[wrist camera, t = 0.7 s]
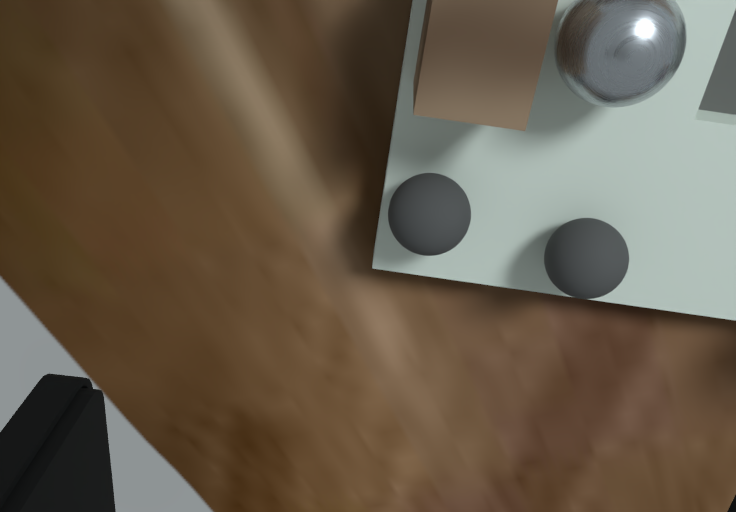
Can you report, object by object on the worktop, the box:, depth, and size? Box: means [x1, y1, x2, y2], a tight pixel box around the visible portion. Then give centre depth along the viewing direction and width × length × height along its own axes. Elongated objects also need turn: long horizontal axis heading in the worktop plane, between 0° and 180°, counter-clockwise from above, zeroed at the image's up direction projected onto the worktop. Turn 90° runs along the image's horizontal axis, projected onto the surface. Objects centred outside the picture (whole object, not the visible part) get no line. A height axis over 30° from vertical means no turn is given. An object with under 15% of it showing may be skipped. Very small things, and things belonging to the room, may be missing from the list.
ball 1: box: [388, 173, 471, 256], centre depth 29 cm, size 4×4×4 cm
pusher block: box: [413, 0, 558, 131], centre depth 25 cm, size 6×4×4 cm, turn 172°
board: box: [372, 0, 736, 320], centre depth 28 cm, size 18×22×5 cm
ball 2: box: [544, 218, 629, 299], centre depth 30 cm, size 4×4×4 cm
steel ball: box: [554, 0, 687, 108], centre depth 25 cm, size 4×4×4 cm
